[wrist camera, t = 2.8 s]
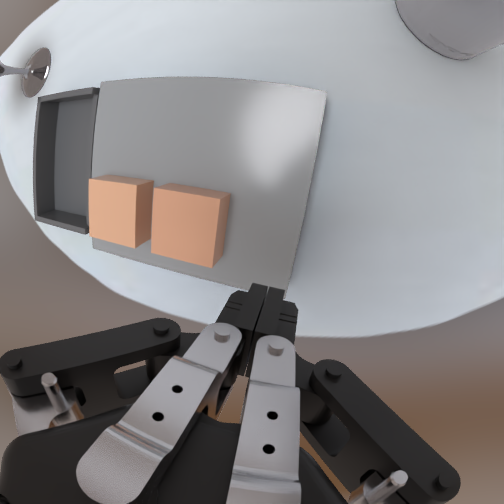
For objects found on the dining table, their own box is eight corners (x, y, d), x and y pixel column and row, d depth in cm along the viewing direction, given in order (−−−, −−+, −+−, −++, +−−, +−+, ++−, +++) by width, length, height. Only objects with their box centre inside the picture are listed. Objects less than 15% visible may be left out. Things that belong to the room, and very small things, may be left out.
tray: (60, 98, 23) (38, 97, 20) (115, 90, 22) (92, 87, 19) (55, 212, 29) (35, 220, 26) (106, 224, 28) (85, 234, 24)
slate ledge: (120, 85, 22) (101, 82, 19) (325, 98, 19) (327, 91, 17) (110, 238, 28) (92, 248, 25) (288, 282, 26) (284, 298, 23)
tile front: (169, 182, 21) (153, 187, 19) (230, 193, 21) (220, 199, 18) (165, 242, 23) (151, 252, 21) (222, 255, 23) (212, 268, 20)
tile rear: (107, 174, 22) (88, 178, 20) (153, 180, 22) (136, 185, 19) (106, 227, 24) (89, 236, 22) (150, 238, 23) (135, 248, 21)
